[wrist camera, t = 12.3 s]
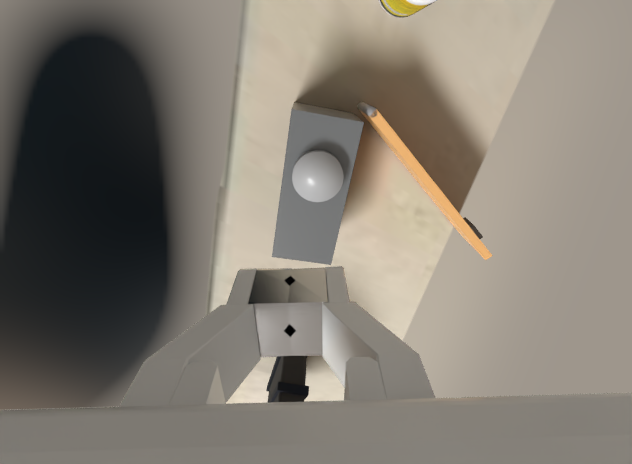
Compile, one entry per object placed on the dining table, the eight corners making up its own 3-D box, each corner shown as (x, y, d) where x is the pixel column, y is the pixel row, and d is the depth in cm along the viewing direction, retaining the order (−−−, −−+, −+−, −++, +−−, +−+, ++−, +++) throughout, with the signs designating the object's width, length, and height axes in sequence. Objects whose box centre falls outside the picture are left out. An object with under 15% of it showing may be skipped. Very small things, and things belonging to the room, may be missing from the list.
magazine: (315, 322, 43) (303, 459, 33) (295, 351, 53) (281, 462, 43) (288, 317, 42) (267, 454, 33) (273, 347, 52) (254, 459, 43)
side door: (355, 105, 32) (366, 112, 26) (366, 95, 31) (379, 99, 26) (460, 234, 38) (485, 260, 33) (470, 227, 38) (497, 252, 33)
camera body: (294, 102, 32) (291, 110, 25) (352, 113, 32) (366, 124, 25) (277, 226, 38) (270, 262, 31) (326, 233, 39) (331, 270, 31)
